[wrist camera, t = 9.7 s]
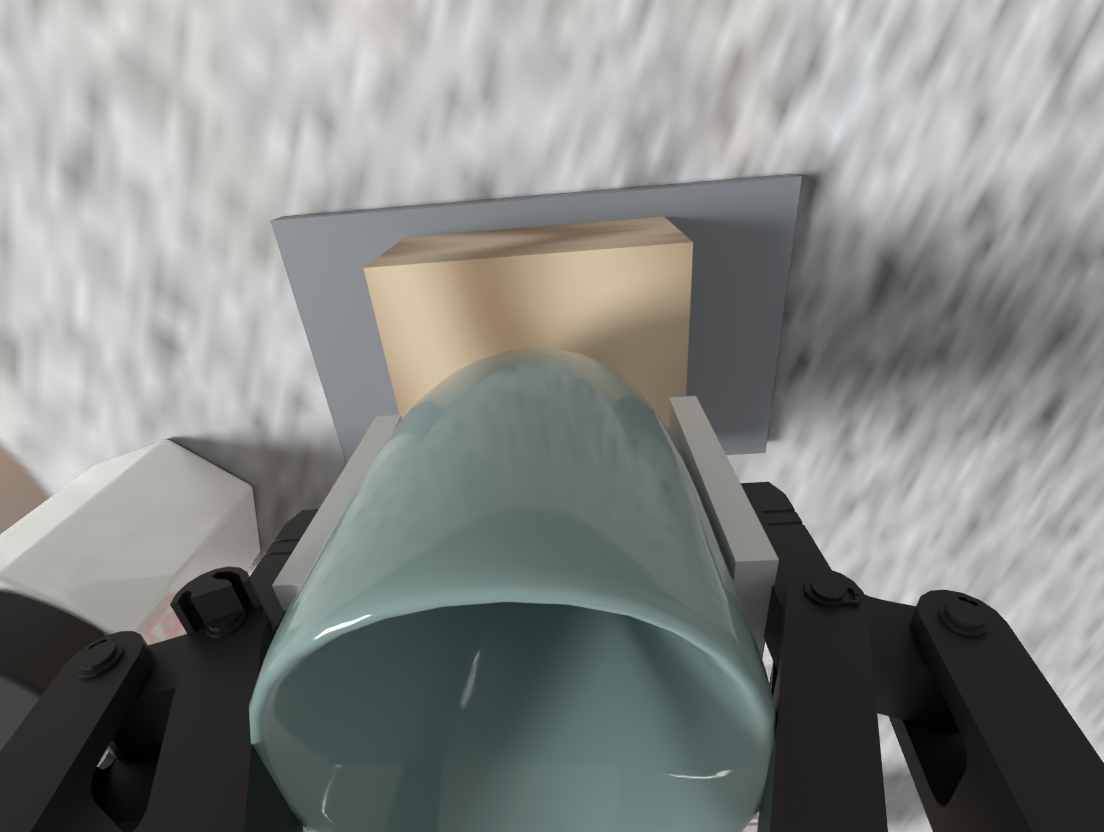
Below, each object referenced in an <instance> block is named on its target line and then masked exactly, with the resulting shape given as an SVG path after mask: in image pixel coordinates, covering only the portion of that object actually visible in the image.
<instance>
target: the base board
mask: <svg viewBox="0 0 1104 832" xmlns="http://www.w3.org/2000/svg"><path fill="white" fill-rule="evenodd" d="M801 181H802V176H797V175H793V174H789V175H777V176H765V177H753V178H741V179H729V180H717V181H705V182H693V183H681V184H669V185H657V186H645V187H633V188H621V189H609V190H597V191H585V192H573V193H561V194H549V195H537V196H525V197H513V198H501V199H489V200H477V201H465V202H453V203H441V204H429V205H417V206H405V207H393V208H381V209H369V210H357V211H345V212H333V213H321V214H309V215H297V216H285V217H280V218H277V219H274V220H271V224H272V227H273V230H274V233H275V237H276V240H277V243H278V246H279V249H280V253H281V256H282V259H283V262H284V265H285V268H286V272H287V275H288V278H289V281H290V284H291V288H292V291H293V294H294V297H295V300H296V304H297V307H298V310H299V313H300V316H301V320H302V323H303V326H304V329H305V332H306V335H307V339H308V342H309V345H310V348H311V351H312V355H313V358H314V361H315V364H316V367H317V371H318V374H319V377H320V380H321V383H322V386H323V390H324V393H325V396H326V399H327V402H328V406H329V409H330V412H331V415H332V418H333V422H334V425H335V428H336V431H337V434H338V437H339V441H340V444H341V447H342V450H343V453H344V457H345V460H346V463H348V461H349V460H350V458H351V456H352V455H353V453H354V452H355V450H356V448H357V447H358V445H359V443H360V442H361V440H362V439H363V437H364V435H365V434H366V432H367V430H368V429H369V427H370V426H371V424H372V422H373V421H374V419H375V417H379V416H394V415H399V411H398V407H397V403H396V399H395V395H394V391H393V387H392V383H391V379H390V375H389V370H388V366H387V362H386V358H385V354H384V350H383V346H382V342H381V338H380V334H379V330H378V325H377V321H376V317H375V313H374V309H373V305H372V301H371V297H370V293H369V289H368V285H367V280H366V276H365V272H364V267H365V266H367V265H368V264H369V263H371V262H372V261H373V260H375V259H376V258H378V257H379V256H380V255H382V254H383V253H384V252H386V251H387V250H388V249H390V248H391V247H392V246H394V245H395V244H396V243H398V242H399V241H400V240H402V239H403V238H404V237H415V236H427V235H440V234H452V233H464V232H477V231H489V230H502V229H514V228H526V227H539V226H551V225H564V224H576V223H589V222H601V221H613V220H626V219H638V218H651V217H663V216H664V217H665V218H666V219H667V220H669V221H670V222H671V223H672V224H673V225H674V226H675V227H677V228H678V229H679V230H680V231H681V232H682V233H683V234H684V235H686V236H687V237H688V238H689V239H690V240H691V241H692V242H693V256H692V278H691V300H690V321H689V343H688V365H687V387H686V396H696V397H697V399H698V401H699V403H700V405H701V407H702V409H703V411H704V413H705V415H706V417H707V419H708V421H709V423H710V425H711V427H712V428H713V430H714V432H715V434H716V436H717V438H718V440H719V442H720V444H721V446H722V448H723V450H724V452H725V454H726V455H735V454H752V453H765V452H766V444H767V437H768V429H769V422H770V414H771V407H772V399H773V392H774V384H775V376H776V369H777V361H778V354H779V346H780V339H781V331H782V324H783V316H784V309H785V301H786V294H787V286H788V279H789V271H790V263H791V256H792V248H793V241H794V233H795V226H796V218H797V211H798V203H799V196H800V188H801Z"/></svg>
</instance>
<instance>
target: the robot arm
mask: <svg viewBox="0 0 1104 832" xmlns="http://www.w3.org/2000/svg"><path fill="white" fill-rule="evenodd" d="M401 421H402V416H401V415H394V416H379V417H375V419H374V421H373V422H372V424H371V426H370V427H369V429H368V430H367V432H366V434H365V435H364V437H363V439H362V440H361V442H360V443H359V445H358V447H357V448H356V450H355V452H354V453H353V455H352V456H351V458H350V460H349V461H348V463H347V465H346V466H345V468H344V469H343V471H342V473H341V474H340V476H339V478H338V479H337V481H336V482H335V484H334V486H333V487H332V489H331V491H330V492H329V494H328V495H327V497H326V499H325V500H324V502H323V504H322V505H321V507H320V508H319V509H314V510H302V511H301V512H300V513H299V514H297V515H296V516H295V517H294V518H292V519H291V520H290V521H289V522H287V523H286V524H285V526H284V527H283V529H282V530H281V531H280V533H279V534H278V536H277V537H276V539H275V543H272V545H271V546H270V548H269V549H268V551H267V555H264V557H263V558H262V560H261V561H260V563H259V564H258V566H257V567H256V568H255V570H254V571H253V573H252V574H251V576H250V577H249V575H248V573H247V572H246V571H245V570H243V569H242V568H240V567H230V566H228V567H223V568H217V569H214V570H211V571H209V572H206V573H204V574H201V575H199V576H198V577H196V578H195V579H193V580H191V581H190V582H188V583H187V584H186V585H185V586H184V587H182V588H181V589H180V590H179V591H178V592H177V593H176V594H175V596H174V598H173V600H172V602H171V603H170V606H171V607H172V609H173V611H174V612H175V614H176V616H177V617H178V619H179V621H180V623H181V624H182V626H183V628H184V629H185V631H186V633H187V634H185V635H181V636H178V637H175V638H171V639H168V640H165V641H161V642H158V643H154V644H151V645H148V644H147V643H146V641H145V640H144V638H143V637H142V635H141V634H139V633H137V632H135V631H120V632H116V633H113V634H109V635H106V636H104V637H102V638H100V639H98V640H96V641H94V642H92V643H90V644H88V645H87V646H86V647H84V648H83V649H82V650H80V651H79V652H77V653H76V654H75V655H74V656H73V657H72V658H71V659H70V660H69V661H68V662H67V663H66V664H65V665H64V666H63V667H62V669H61V670H60V671H59V673H58V674H57V676H56V677H55V678H54V680H53V681H52V682H51V684H50V685H49V686H48V688H47V689H46V690H45V692H44V693H43V694H42V696H41V697H40V699H39V700H38V701H37V703H36V704H35V705H34V707H33V708H32V709H31V711H30V712H29V713H28V715H27V716H26V717H25V719H24V720H23V721H22V723H21V724H20V726H19V727H18V728H17V730H16V731H15V732H14V734H13V735H12V736H11V738H10V739H9V740H8V742H7V743H6V744H5V746H4V747H3V749H2V750H1V751H0V832H303V825H302V824H301V823H300V822H299V821H298V820H297V819H296V818H295V816H294V815H293V813H292V811H291V809H290V807H289V805H288V804H287V802H286V800H285V798H284V797H283V795H282V793H281V792H280V790H279V788H278V786H277V785H276V783H275V781H274V779H273V778H272V776H271V774H270V773H269V771H268V770H267V768H266V766H265V765H264V763H263V762H262V760H261V758H260V757H259V755H258V753H257V752H256V750H255V749H254V747H253V745H252V744H251V739H250V723H249V704H250V700H251V697H252V693H253V690H254V687H255V684H256V681H257V678H258V676H259V673H260V670H261V667H262V664H263V662H264V659H265V656H266V654H267V652H268V649H269V647H270V645H271V642H272V640H273V638H274V636H275V633H276V631H277V629H278V627H279V625H280V623H281V621H282V619H283V617H284V615H285V614H286V612H287V610H288V608H289V606H290V604H291V602H292V600H293V598H294V596H295V595H296V593H297V591H298V589H299V587H300V585H301V583H302V582H303V580H304V578H305V576H306V574H307V572H308V571H309V569H310V567H311V565H312V563H313V562H314V560H315V558H316V556H317V555H318V553H319V551H320V549H321V547H322V546H323V544H324V542H325V540H326V538H327V537H328V535H329V533H330V531H331V530H332V528H333V526H334V524H335V522H336V521H337V519H338V517H339V515H340V514H341V512H342V510H343V508H344V507H345V505H346V503H347V501H348V500H349V498H350V496H351V495H352V493H353V491H354V489H355V488H356V486H357V484H358V483H359V481H360V479H361V478H362V476H363V475H364V473H365V471H366V470H367V468H368V466H369V465H370V463H371V462H372V460H373V459H374V457H375V456H376V454H377V453H378V451H379V450H380V448H381V447H382V445H383V444H384V442H385V441H386V440H387V439H388V437H389V436H390V435H391V433H392V432H393V431H394V429H395V428H396V427H397V425H398V424H399V423H400V422H401ZM668 430H669V432H670V434H671V436H672V438H673V439H674V441H675V443H676V445H677V447H678V449H679V451H680V454H681V456H682V458H683V460H684V462H685V464H686V466H687V469H688V471H689V473H690V475H691V477H692V480H693V482H694V484H695V486H696V488H697V491H698V493H699V495H700V498H701V500H702V502H703V505H704V507H705V509H706V512H707V514H708V517H709V519H710V522H711V524H712V527H713V529H714V532H715V534H716V537H717V539H718V542H719V544H720V547H721V549H722V552H723V555H724V557H725V560H726V562H727V565H728V568H729V570H730V573H731V576H732V578H733V581H734V583H735V586H736V589H737V591H738V594H739V597H740V599H741V602H742V605H743V607H744V610H745V613H746V615H747V618H748V621H749V624H750V626H751V629H752V632H753V634H754V637H755V640H756V643H757V646H758V649H759V652H760V655H761V658H763V652H764V646H765V642H766V644H767V647H768V649H769V652H770V654H771V657H772V659H773V666H772V672H771V677H770V683H769V685H770V688H771V692H772V698H773V704H774V711H775V717H776V732H775V739H774V744H773V749H772V754H771V758H770V763H769V768H768V773H767V778H766V783H765V788H764V793H763V798H762V803H761V808H760V811H759V816H758V828H757V832H888V828H887V817H886V805H885V794H884V783H883V772H882V761H881V750H880V739H879V728H878V717H877V713H879V714H883V715H887V716H889V718H890V721H891V724H892V726H893V729H894V731H895V734H896V737H897V739H898V742H899V744H900V747H901V750H902V752H903V755H904V757H905V760H906V763H907V765H908V768H909V770H910V773H911V776H912V778H913V781H914V783H915V786H916V789H917V791H918V794H919V796H920V799H921V802H922V804H923V807H924V809H925V812H926V815H927V817H928V820H929V822H930V825H931V828H932V830H933V832H1104V763H1103V761H1102V760H1101V759H1100V757H1099V756H1098V754H1097V753H1096V751H1095V750H1094V748H1093V747H1092V745H1091V744H1090V743H1089V741H1088V740H1087V738H1086V737H1085V735H1084V734H1083V732H1082V731H1081V729H1080V728H1079V727H1078V725H1077V724H1076V722H1075V721H1074V719H1073V718H1072V716H1071V715H1070V713H1069V712H1068V711H1067V709H1066V708H1065V706H1064V705H1063V703H1062V702H1061V700H1060V699H1059V697H1058V696H1057V694H1056V693H1055V692H1054V690H1053V689H1052V687H1051V686H1050V684H1049V683H1048V681H1047V680H1046V678H1045V677H1044V676H1043V674H1042V673H1041V671H1040V670H1039V668H1038V667H1037V665H1036V664H1035V662H1034V661H1033V660H1032V658H1031V657H1030V655H1029V654H1028V652H1027V651H1026V649H1025V648H1024V646H1023V645H1022V644H1021V642H1020V641H1019V639H1018V638H1017V636H1016V635H1015V633H1014V632H1013V630H1012V629H1011V628H1010V626H1009V625H1008V623H1007V622H1006V621H1005V620H1004V619H1003V618H1002V617H1001V616H1000V615H999V613H998V612H997V611H996V610H994V609H993V608H991V607H990V606H988V605H987V604H985V603H984V602H982V601H980V600H978V599H976V598H974V597H971V596H969V595H966V594H964V593H960V592H955V591H949V590H934V591H929V592H927V593H926V594H924V595H922V596H921V597H920V599H919V601H918V604H917V606H911V605H906V604H901V603H895V602H890V601H885V600H880V599H877V598H873V597H869V596H867V595H864V593H863V591H862V590H861V589H860V588H859V587H858V586H857V584H856V583H855V582H854V581H852V580H851V579H849V578H847V577H846V576H844V575H843V574H841V573H838V572H835V571H832V570H831V568H830V566H829V565H828V563H827V561H826V560H825V558H824V557H823V555H822V553H821V552H820V550H819V548H818V547H817V545H816V544H815V542H814V540H813V539H812V537H811V535H810V534H809V532H808V530H807V529H806V527H805V526H804V525H802V521H801V519H800V517H799V516H798V514H797V512H795V509H794V508H793V506H792V504H791V503H790V501H789V499H788V498H787V496H786V495H785V494H784V493H783V492H782V491H780V490H779V489H778V488H776V487H775V486H774V485H772V484H771V483H770V482H757V483H740V482H739V480H738V478H737V476H736V474H735V472H734V470H733V468H732V466H731V464H730V462H729V460H728V458H727V456H726V454H725V452H724V450H723V448H722V446H721V444H720V442H719V440H718V438H717V436H716V434H715V432H714V430H713V428H712V427H711V425H710V423H709V421H708V419H707V417H706V415H705V413H704V411H703V409H702V407H701V405H700V403H699V401H698V399H697V397H696V396H684V397H669V424H668ZM106 749H108V750H109V752H108V754H107V756H106V758H105V760H104V761H103V762H102V763H101V765H100V766H99V767H97V765H98V763H99V762H100V760H101V758H102V756H103V755H104V753H105V751H106Z"/></svg>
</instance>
